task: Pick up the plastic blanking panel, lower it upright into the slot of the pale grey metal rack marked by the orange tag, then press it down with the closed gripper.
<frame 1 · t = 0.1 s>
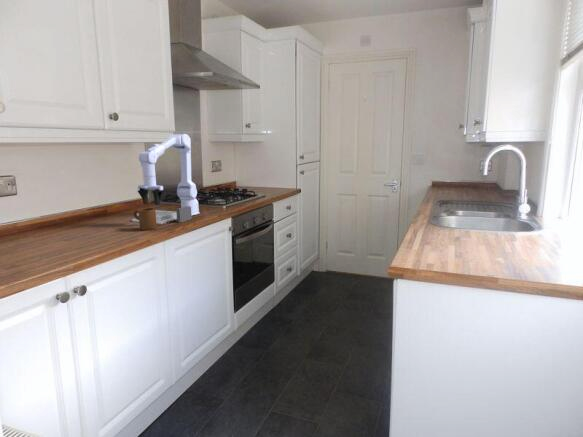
hand: (151, 204, 202), 10 cm above the countertop, tool pointing down, fingers open, 7 cm apart
panel: (184, 221, 211), on the countertop
rack: (157, 219, 215), on the countertop
mug: (144, 229, 194), on the countertop
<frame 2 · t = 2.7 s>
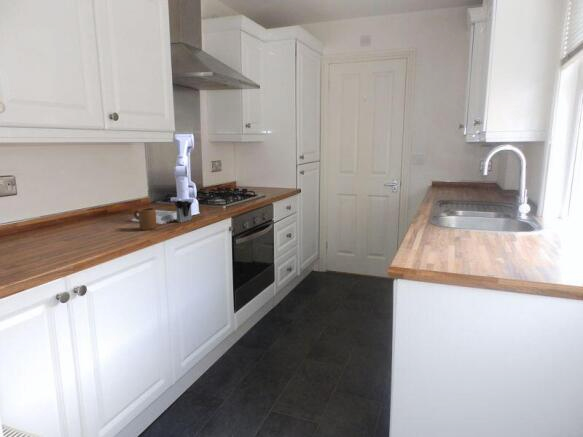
hand: (184, 215, 211), 3 cm above the countertop, tool pointing down, fingers closed on panel, 2 cm apart
panel: (184, 221, 211), on the countertop, touching gripper
everything else where it was.
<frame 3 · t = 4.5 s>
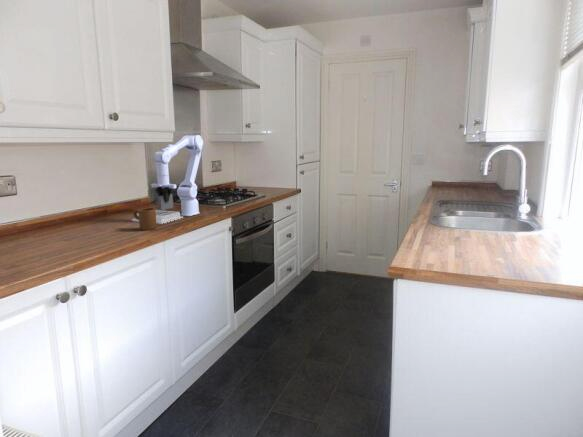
hand: (164, 201, 212), 10 cm above the countertop, tool pointing down, fingers closed on panel
panel: (165, 208, 213), point 6 cm above the countertop, touching gripper
everything else where it was.
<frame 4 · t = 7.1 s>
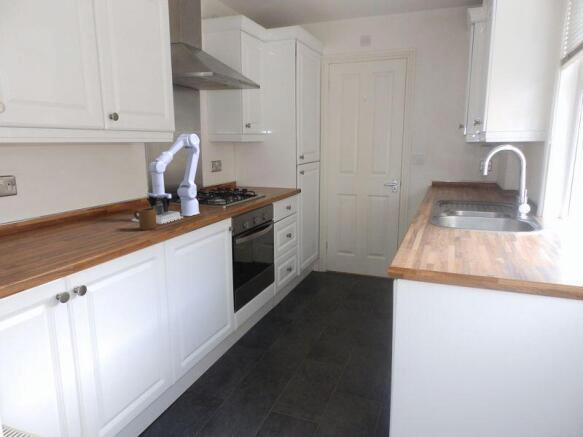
hand: (160, 211, 214), 5 cm above the countertop, tool pointing down, fingers open, 7 cm apart
panel: (161, 218, 215), point 1 cm above the countertop, touching rack
everything else where it was.
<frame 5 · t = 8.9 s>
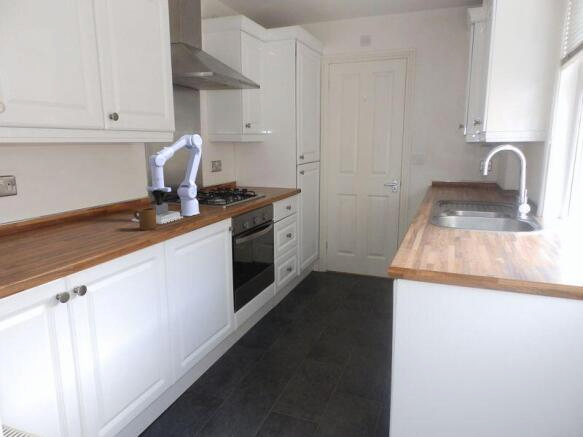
hand: (159, 205, 213), 8 cm above the countertop, tool pointing down, fingers closed, pressing on panel
panel: (161, 218, 215), point 1 cm above the countertop, touching gripper, rack
everything else where it was.
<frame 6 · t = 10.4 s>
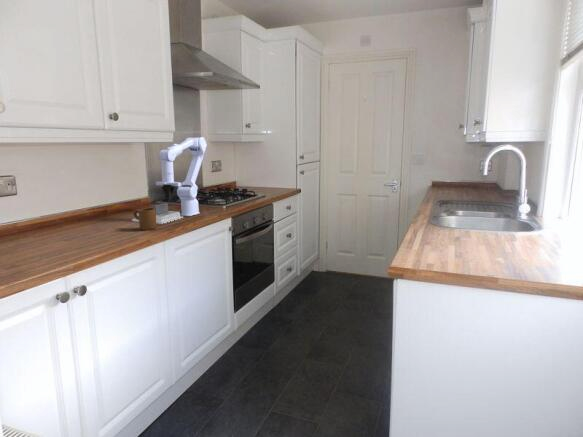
hand: (169, 199, 214), 10 cm above the countertop, tool pointing down, fingers closed
panel: (161, 218, 215), point 1 cm above the countertop, touching rack
everything else where it was.
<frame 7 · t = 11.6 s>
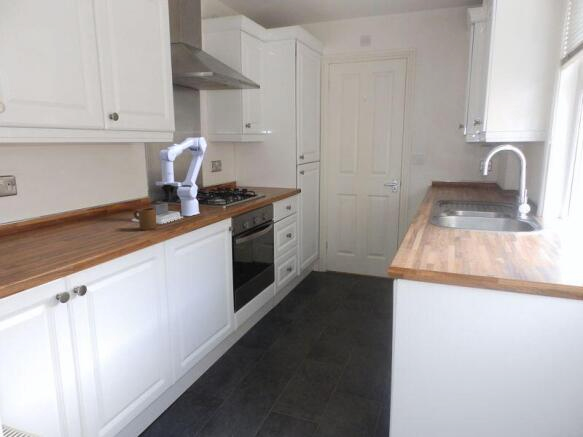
hand: (169, 199, 214), 10 cm above the countertop, tool pointing down, fingers closed
nothing on the countertop moved.
at the end: panel 0.3 cm from the target spot on the rack, point 1.0 cm above the rack's base; panel tilted 0°; the gripper is holding nothing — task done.
